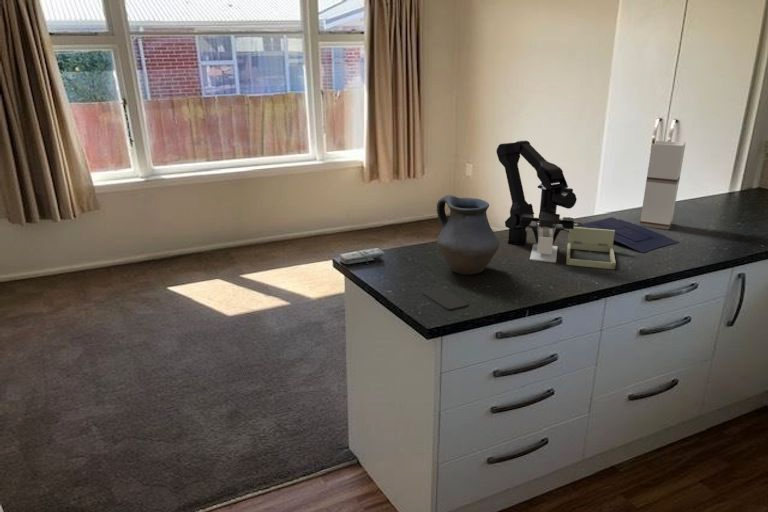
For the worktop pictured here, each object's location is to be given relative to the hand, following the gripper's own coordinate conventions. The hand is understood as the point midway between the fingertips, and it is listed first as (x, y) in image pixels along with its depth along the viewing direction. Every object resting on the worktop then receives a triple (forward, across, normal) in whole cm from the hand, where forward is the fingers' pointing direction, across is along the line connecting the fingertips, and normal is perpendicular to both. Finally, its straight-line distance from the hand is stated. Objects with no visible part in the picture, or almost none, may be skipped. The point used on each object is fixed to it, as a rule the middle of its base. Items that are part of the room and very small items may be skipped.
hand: (544, 243), depth 210 cm
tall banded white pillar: (+4, +44, +55) cm, 71 cm away
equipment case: (+4, +16, 0) cm, 17 cm away
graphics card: (+4, +9, +36) cm, 37 cm away
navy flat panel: (+4, +30, +30) cm, 43 cm away
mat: (+4, 0, 0) cm, 4 cm away
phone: (+4, -26, -53) cm, 59 cm away
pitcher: (+4, -25, -26) cm, 36 cm away
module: (+2, 0, 0) cm, 2 cm away
